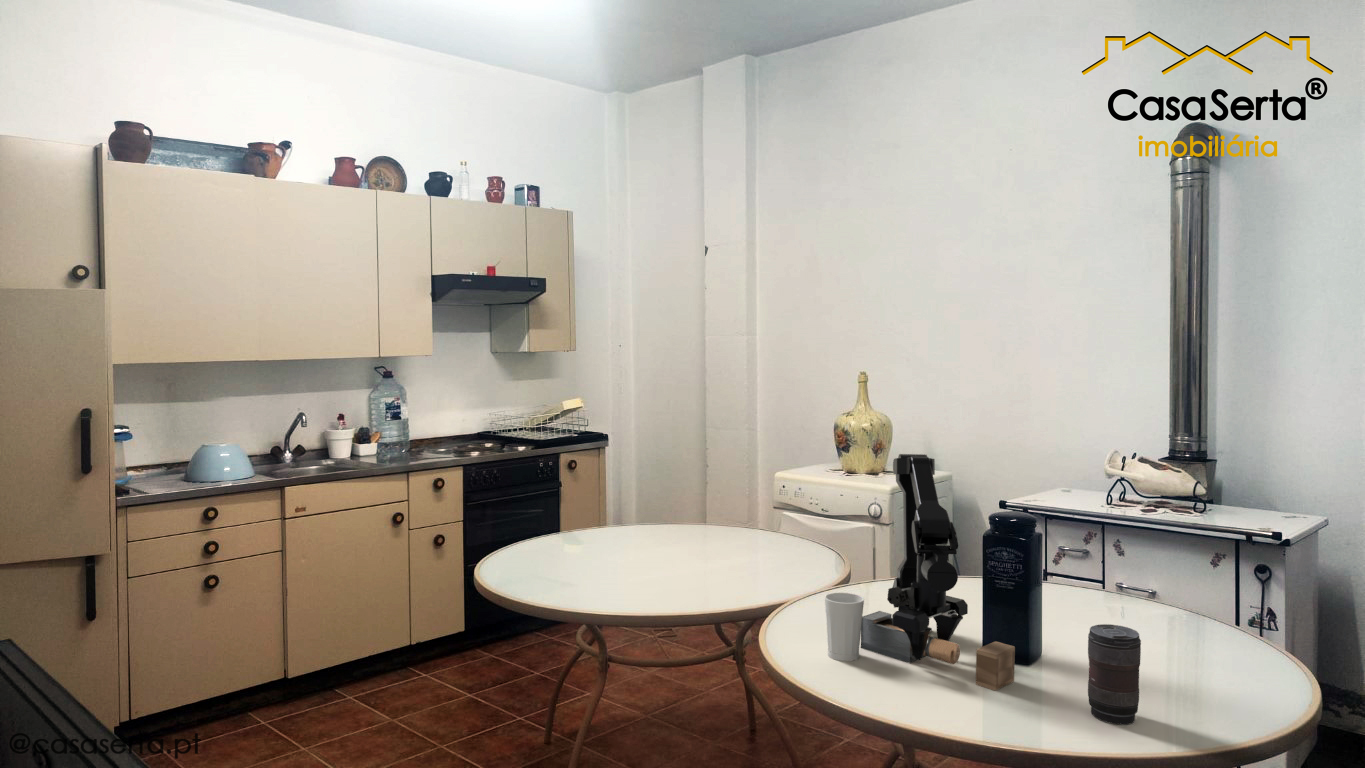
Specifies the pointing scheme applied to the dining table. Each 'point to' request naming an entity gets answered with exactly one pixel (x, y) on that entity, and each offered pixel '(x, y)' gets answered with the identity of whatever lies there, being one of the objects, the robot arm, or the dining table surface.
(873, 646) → the grey channel holder
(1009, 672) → the socket
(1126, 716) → the camera lens
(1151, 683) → the dining table surface
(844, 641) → the cup
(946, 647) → the tube
